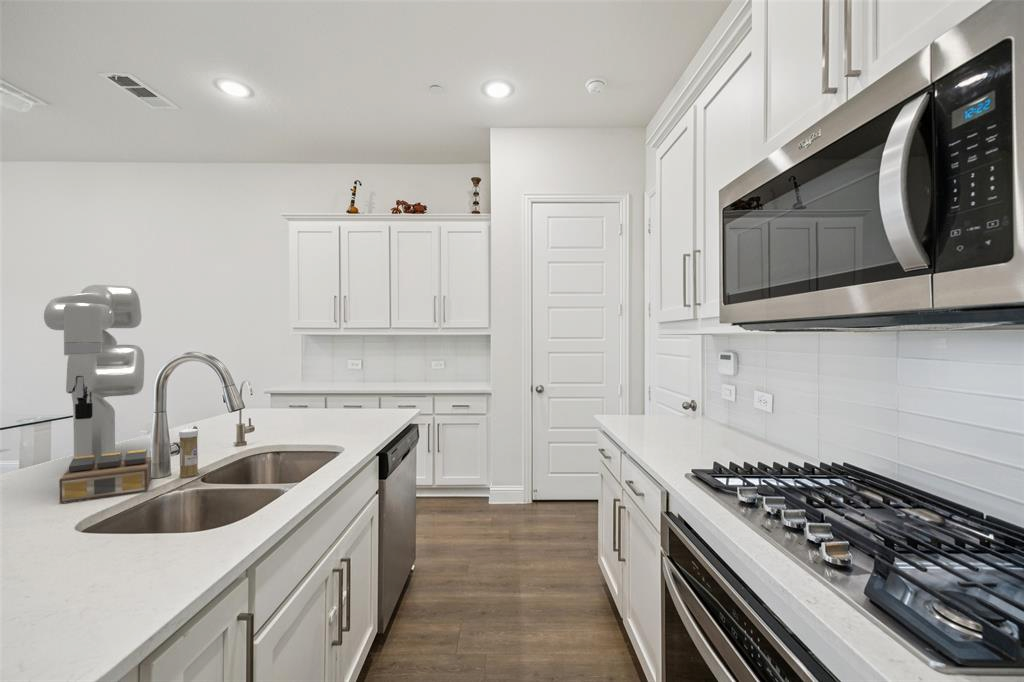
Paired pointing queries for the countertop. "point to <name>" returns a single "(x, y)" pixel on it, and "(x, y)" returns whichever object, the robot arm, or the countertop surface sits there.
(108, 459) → the rocker
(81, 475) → the switch unit
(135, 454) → the rocker
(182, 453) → the sprinkles bottle
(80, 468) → the rocker
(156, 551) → the countertop surface
